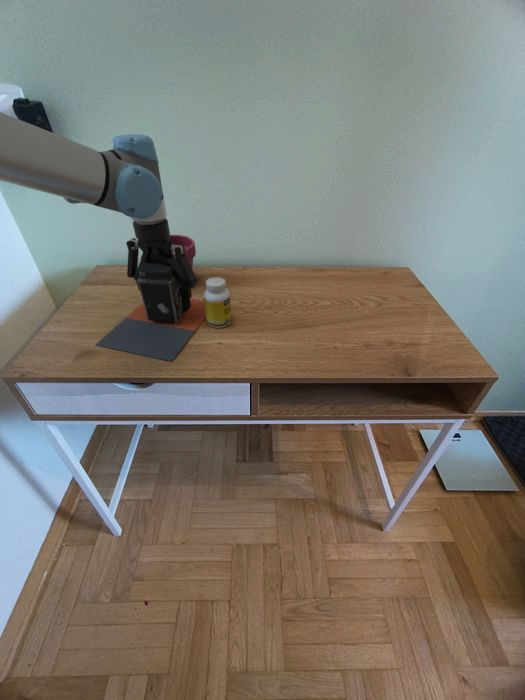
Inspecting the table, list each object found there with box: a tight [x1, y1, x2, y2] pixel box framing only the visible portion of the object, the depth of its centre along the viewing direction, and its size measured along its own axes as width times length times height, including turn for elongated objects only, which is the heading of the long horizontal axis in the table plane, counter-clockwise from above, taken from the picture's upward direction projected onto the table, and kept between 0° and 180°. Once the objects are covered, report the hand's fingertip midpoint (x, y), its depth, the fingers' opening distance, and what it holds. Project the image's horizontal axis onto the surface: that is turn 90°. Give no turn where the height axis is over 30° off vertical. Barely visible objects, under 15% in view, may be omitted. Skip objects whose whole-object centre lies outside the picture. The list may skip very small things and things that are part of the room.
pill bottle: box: [203, 276, 232, 329], centre depth 80 cm, size 6×6×12 cm
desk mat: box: [95, 298, 206, 363], centre depth 83 cm, size 20×26×1 cm
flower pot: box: [170, 234, 197, 269], centre depth 96 cm, size 14×14×13 cm
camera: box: [135, 257, 184, 324], centre depth 81 cm, size 10×11×15 cm
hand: (167, 305), depth 84 cm, fingers closed on camera, 11 cm apart
